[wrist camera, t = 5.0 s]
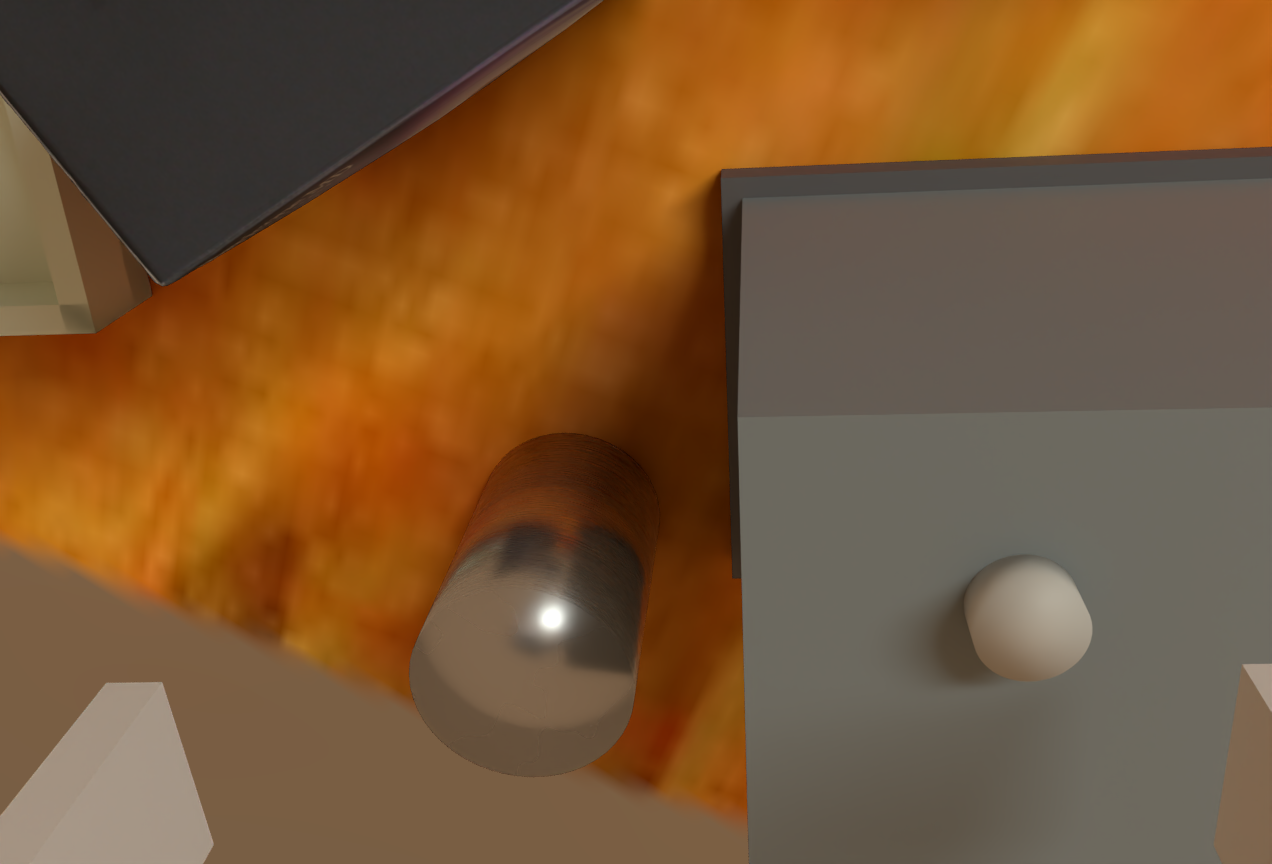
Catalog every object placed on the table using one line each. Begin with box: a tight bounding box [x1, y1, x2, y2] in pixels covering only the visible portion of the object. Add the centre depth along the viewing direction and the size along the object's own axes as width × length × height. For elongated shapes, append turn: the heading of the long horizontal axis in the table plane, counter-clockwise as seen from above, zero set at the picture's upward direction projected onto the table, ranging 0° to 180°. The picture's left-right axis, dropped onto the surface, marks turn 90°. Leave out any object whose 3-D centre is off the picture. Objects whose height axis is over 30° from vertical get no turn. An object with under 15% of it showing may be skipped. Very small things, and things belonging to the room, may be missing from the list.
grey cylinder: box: [409, 433, 660, 777], centre depth 29 cm, size 5×5×8 cm
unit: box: [721, 147, 1272, 864], centre depth 24 cm, size 11×15×15 cm
